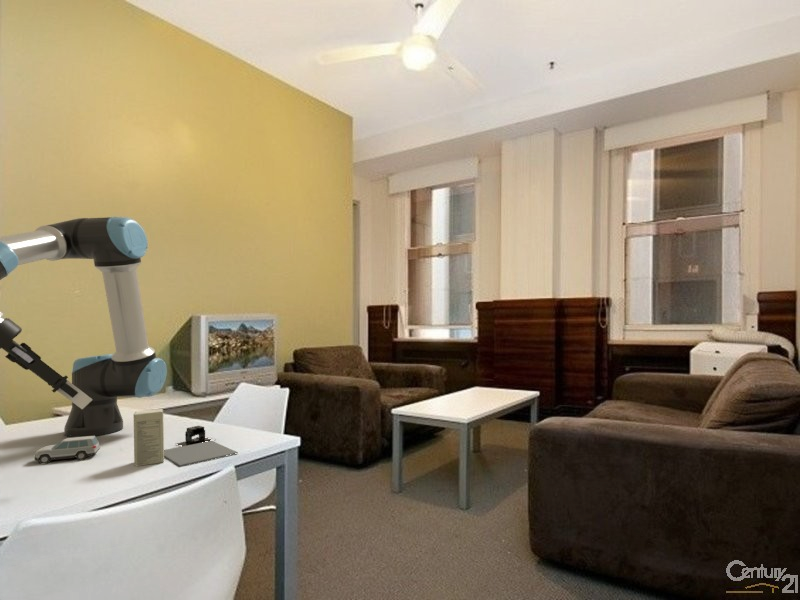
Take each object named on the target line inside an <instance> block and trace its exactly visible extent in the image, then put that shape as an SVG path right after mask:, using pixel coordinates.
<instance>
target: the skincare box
mask: <svg viewBox="0 0 800 600" xmlns="http://www.w3.org/2000/svg"><path fill="white" fill-rule="evenodd" d="M164 424H165V423H164V408H157V409H149V410H146V409H145V410H137V411H134V413H133V448H134V449H133V459H134V461H133V462H134V467H139V466H146V465H152V464H160V463H164V462H165V457H164V450H165V446H164V445H165V437H164V436H165V435H164V434H165V433H164V430H165V429H164Z"/></svg>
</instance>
